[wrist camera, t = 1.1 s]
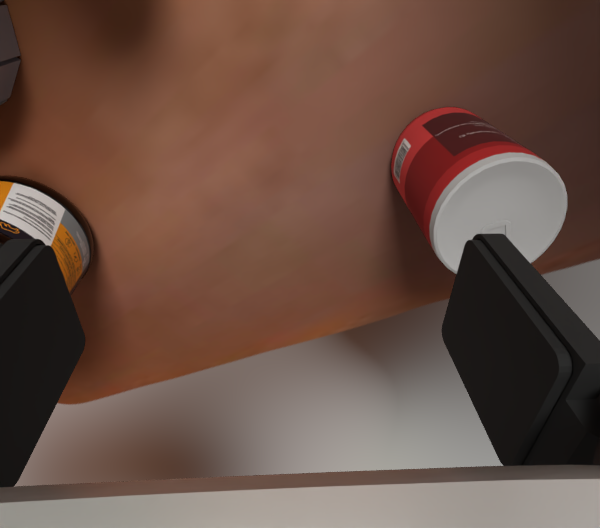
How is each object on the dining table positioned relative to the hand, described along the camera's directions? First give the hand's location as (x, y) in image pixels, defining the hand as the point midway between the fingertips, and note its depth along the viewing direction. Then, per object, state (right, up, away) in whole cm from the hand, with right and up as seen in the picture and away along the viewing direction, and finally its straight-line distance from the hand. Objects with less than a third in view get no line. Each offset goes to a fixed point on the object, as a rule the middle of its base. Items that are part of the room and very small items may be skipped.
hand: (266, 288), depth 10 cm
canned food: (+11, +9, +23) cm, 28 cm away
